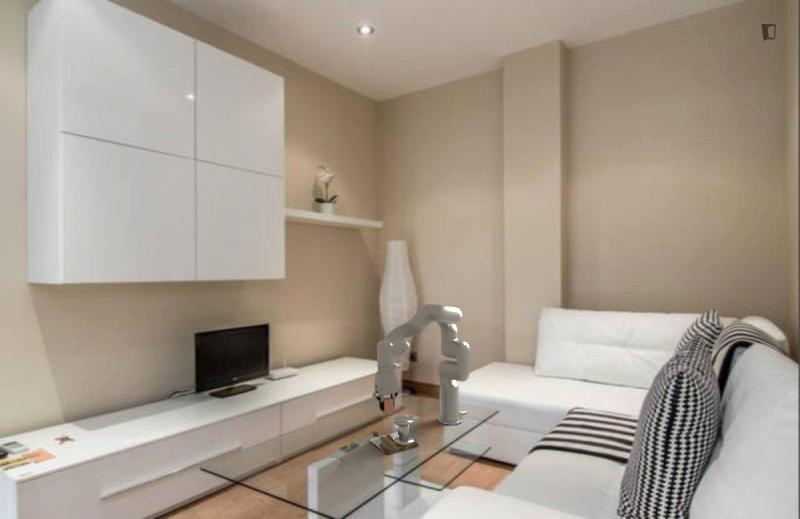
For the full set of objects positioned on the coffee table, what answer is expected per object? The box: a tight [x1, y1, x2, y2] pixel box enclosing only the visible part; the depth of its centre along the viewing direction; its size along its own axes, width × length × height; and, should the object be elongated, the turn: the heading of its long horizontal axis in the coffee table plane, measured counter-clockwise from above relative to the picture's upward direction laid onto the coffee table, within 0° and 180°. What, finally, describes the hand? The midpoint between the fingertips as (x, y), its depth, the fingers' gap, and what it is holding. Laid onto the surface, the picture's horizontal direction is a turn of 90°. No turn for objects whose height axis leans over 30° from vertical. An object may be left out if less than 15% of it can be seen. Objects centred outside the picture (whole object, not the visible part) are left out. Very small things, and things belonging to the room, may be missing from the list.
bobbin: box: [393, 415, 415, 446], centre depth 204 cm, size 9×9×10 cm
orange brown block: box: [380, 396, 395, 415], centre depth 202 cm, size 4×4×6 cm
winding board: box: [371, 430, 419, 456], centre depth 206 cm, size 16×18×4 cm
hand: (387, 408), depth 202 cm, fingers closed on orange brown block, 4 cm apart
